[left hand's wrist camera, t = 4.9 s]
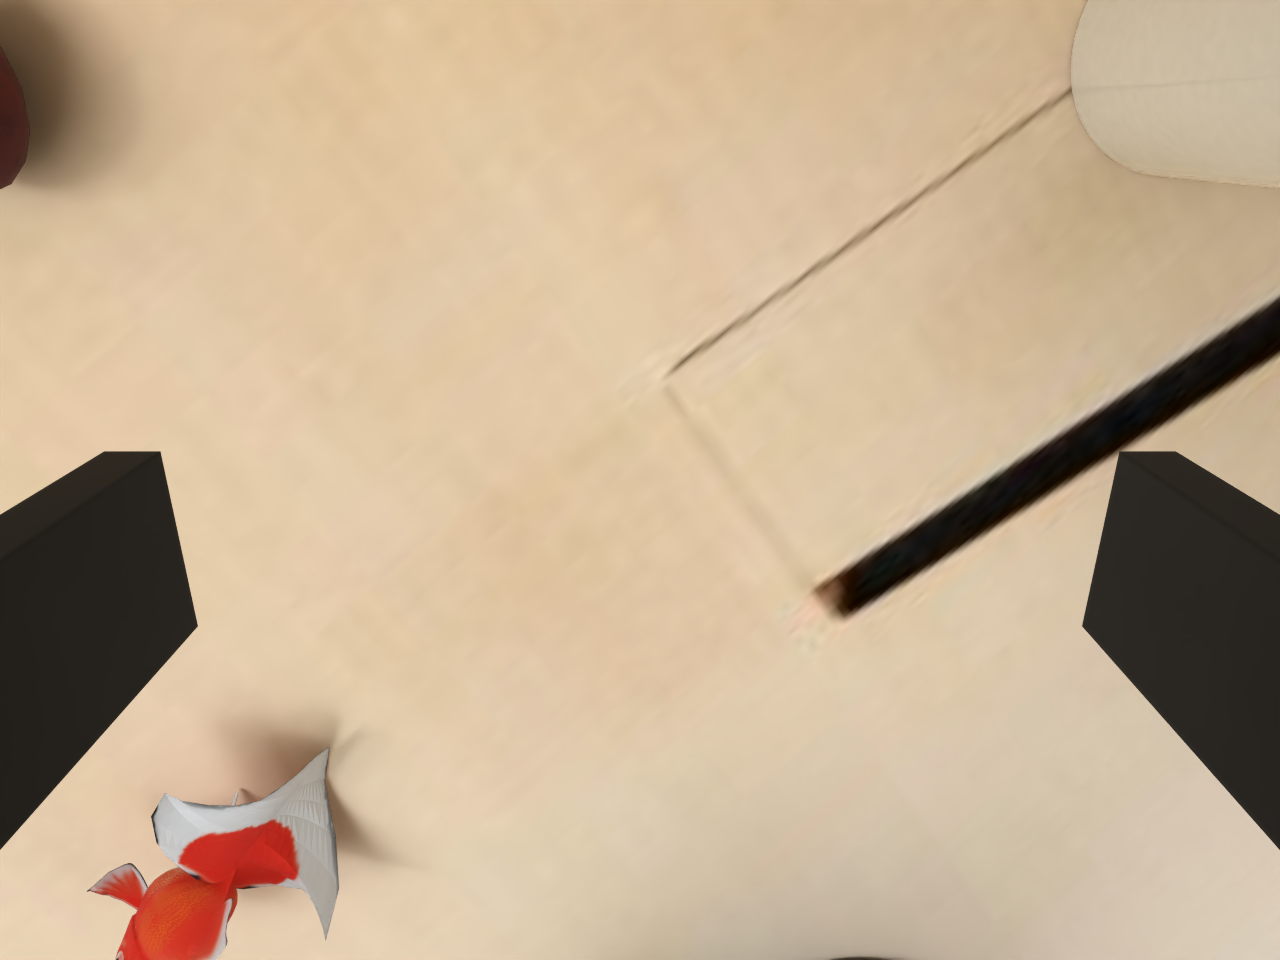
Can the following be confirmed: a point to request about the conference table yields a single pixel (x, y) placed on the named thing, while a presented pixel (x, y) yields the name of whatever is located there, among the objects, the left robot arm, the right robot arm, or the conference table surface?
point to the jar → (1182, 87)
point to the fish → (227, 866)
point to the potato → (11, 124)
